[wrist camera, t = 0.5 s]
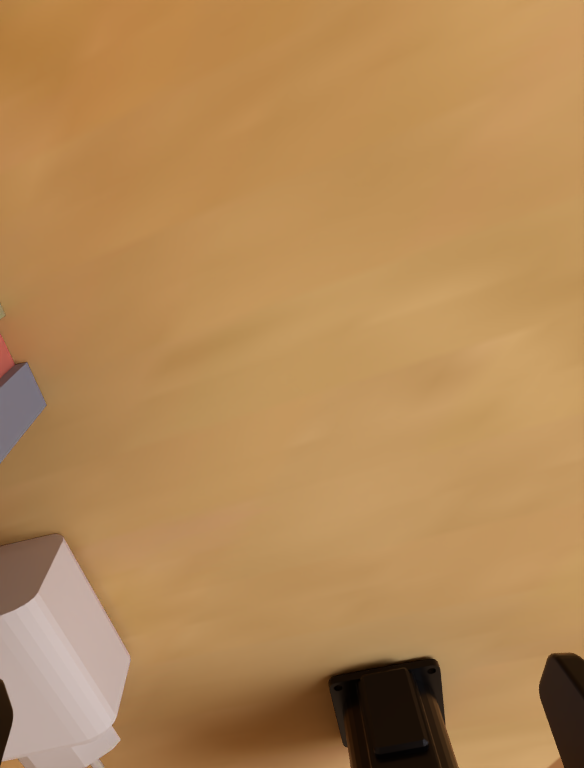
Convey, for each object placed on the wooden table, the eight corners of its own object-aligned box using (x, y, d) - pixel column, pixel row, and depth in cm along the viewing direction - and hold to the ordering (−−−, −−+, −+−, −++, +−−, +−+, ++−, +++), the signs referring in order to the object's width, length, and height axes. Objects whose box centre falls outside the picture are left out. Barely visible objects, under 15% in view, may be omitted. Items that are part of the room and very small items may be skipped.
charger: (26, 742, 31) (-113, 568, 25) (170, 712, 31) (68, 527, 24) (-10, 837, 27) (-189, 657, 21) (157, 803, 27) (28, 608, 20)
